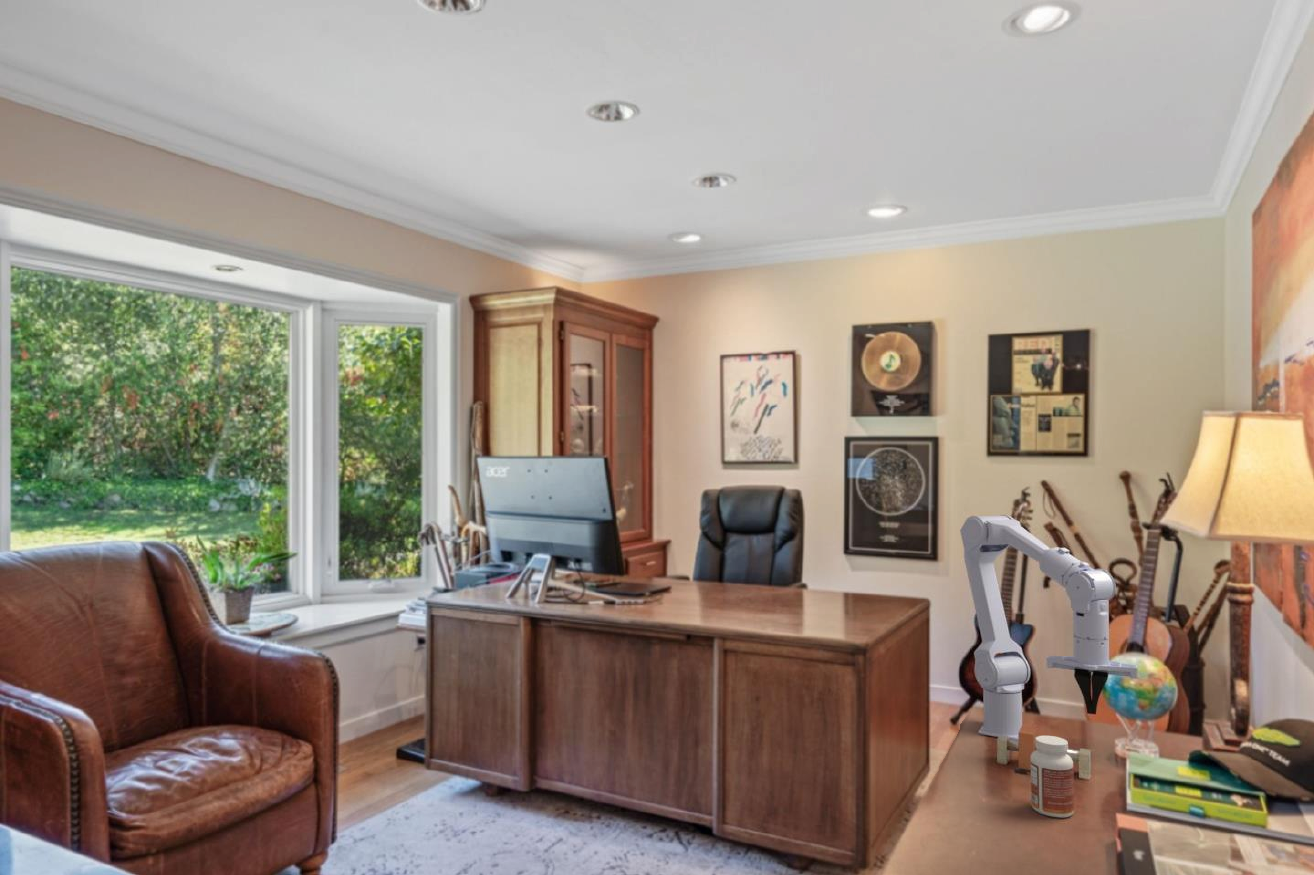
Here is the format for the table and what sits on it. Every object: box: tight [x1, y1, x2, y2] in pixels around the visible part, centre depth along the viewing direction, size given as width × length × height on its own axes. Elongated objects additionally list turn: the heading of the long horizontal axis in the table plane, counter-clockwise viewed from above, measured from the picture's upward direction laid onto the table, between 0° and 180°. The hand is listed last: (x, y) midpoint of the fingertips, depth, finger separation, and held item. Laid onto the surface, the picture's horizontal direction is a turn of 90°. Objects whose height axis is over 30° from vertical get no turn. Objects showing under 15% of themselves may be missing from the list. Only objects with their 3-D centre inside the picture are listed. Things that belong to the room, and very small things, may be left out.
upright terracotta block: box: [1018, 722, 1039, 772], centre depth 150 cm, size 2×6×6 cm, turn 148°
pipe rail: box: [996, 735, 1092, 781], centre depth 149 cm, size 15×10×4 cm, turn 58°
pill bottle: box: [1030, 735, 1075, 819], centre depth 131 cm, size 6×6×11 cm
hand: (1091, 712), depth 149 cm, fingers closed
